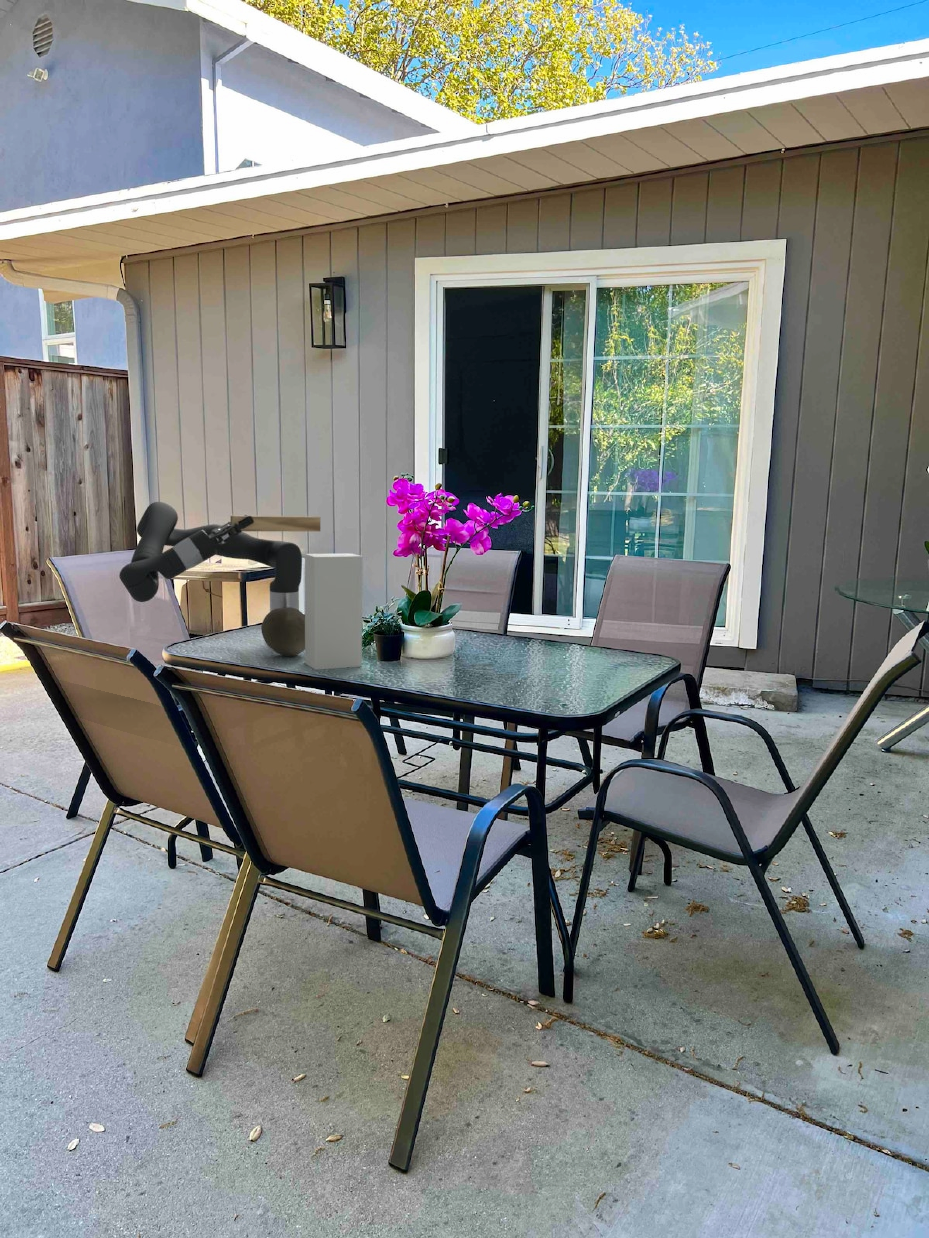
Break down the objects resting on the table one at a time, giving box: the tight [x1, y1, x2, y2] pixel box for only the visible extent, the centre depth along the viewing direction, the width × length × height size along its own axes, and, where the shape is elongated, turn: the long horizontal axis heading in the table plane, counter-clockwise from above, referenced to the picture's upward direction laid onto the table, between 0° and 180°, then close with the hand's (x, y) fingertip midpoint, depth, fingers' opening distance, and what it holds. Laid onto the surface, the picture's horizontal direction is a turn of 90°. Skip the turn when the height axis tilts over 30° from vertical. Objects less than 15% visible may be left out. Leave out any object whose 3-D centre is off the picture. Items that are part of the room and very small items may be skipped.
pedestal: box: [304, 552, 364, 671], centre depth 253 cm, size 10×14×32 cm
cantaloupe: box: [260, 607, 305, 657], centre depth 265 cm, size 14×14×15 cm
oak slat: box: [229, 515, 321, 532], centre depth 242 cm, size 4×24×4 cm, turn 116°
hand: (250, 518), depth 239 cm, fingers closed on oak slat, 4 cm apart
